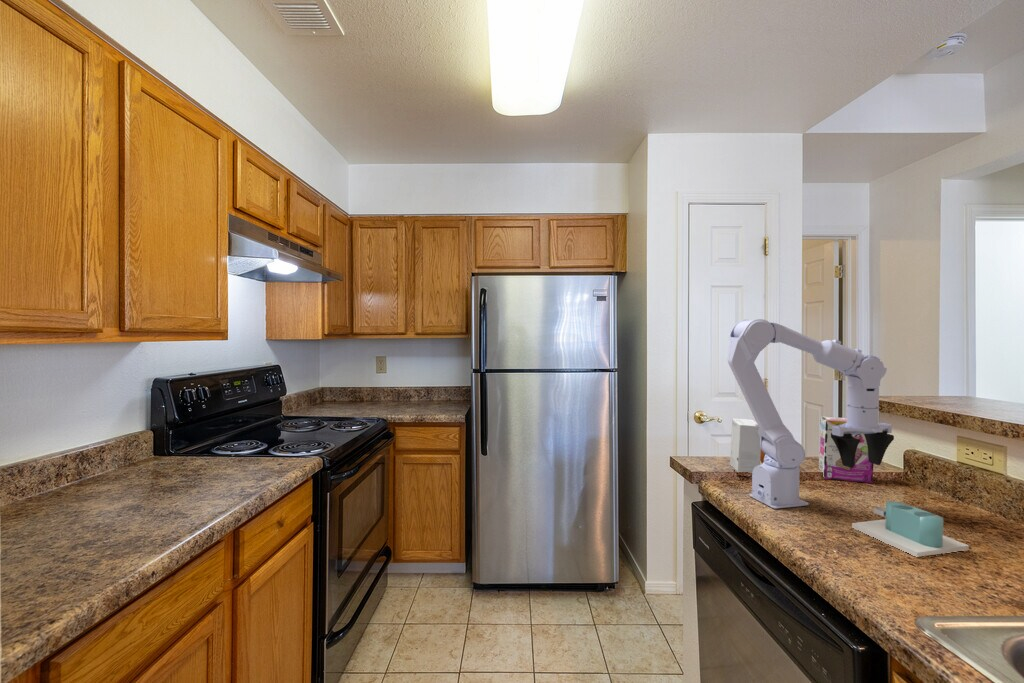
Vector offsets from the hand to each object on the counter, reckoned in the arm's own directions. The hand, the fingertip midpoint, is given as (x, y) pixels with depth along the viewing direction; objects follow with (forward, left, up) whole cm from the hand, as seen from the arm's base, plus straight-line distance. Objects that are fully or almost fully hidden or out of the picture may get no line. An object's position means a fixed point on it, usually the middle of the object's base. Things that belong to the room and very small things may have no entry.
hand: (861, 464), depth 100 cm
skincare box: (-10, +25, -10) cm, 29 cm away
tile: (-7, -15, -9) cm, 19 cm away
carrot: (0, +29, -10) cm, 31 cm away
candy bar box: (+13, +15, -10) cm, 22 cm away
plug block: (-7, -15, -8) cm, 19 cm away
